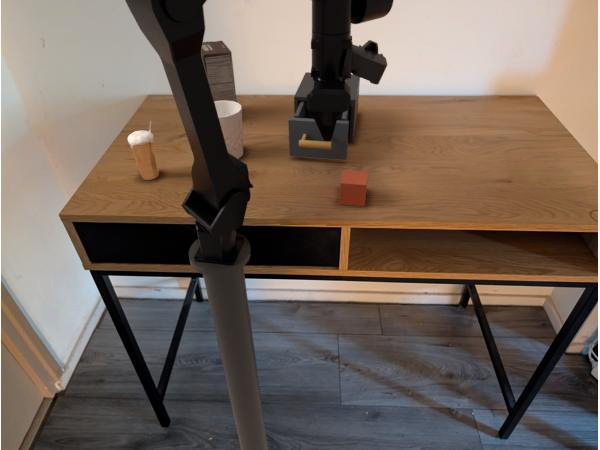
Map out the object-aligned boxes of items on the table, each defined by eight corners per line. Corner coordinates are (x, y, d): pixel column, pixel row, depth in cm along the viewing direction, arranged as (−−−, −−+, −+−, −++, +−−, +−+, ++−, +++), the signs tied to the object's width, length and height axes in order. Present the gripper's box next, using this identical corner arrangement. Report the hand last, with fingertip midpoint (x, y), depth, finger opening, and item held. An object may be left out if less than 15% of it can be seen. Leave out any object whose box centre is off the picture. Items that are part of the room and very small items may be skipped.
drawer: (344, 171, 82) (346, 133, 77) (285, 166, 84) (283, 129, 79) (351, 129, 96) (353, 95, 91) (301, 126, 97) (300, 93, 92)
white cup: (252, 157, 89) (248, 111, 82) (216, 167, 85) (209, 120, 79) (237, 141, 94) (232, 97, 88) (202, 151, 91) (194, 105, 85)
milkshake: (170, 171, 85) (159, 124, 78) (150, 184, 81) (137, 136, 75) (154, 165, 86) (141, 118, 80) (133, 178, 83) (119, 130, 77)
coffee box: (205, 110, 107) (194, 42, 97) (230, 106, 109) (222, 39, 99) (212, 125, 100) (201, 54, 90) (239, 121, 102) (231, 50, 92)
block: (364, 206, 75) (366, 185, 72) (339, 204, 75) (340, 183, 72) (366, 192, 78) (368, 171, 75) (341, 190, 79) (343, 169, 76)
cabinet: (352, 142, 93) (355, 99, 87) (295, 138, 95) (293, 96, 89) (357, 114, 104) (360, 74, 98) (305, 111, 106) (305, 72, 100)
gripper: (392, 49, 55) (380, 157, 65) (382, 14, 70) (373, 106, 80) (306, 49, 56) (306, 155, 66) (313, 14, 71) (313, 105, 80)
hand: (328, 128), depth 73 cm, fingers open, 9 cm apart
